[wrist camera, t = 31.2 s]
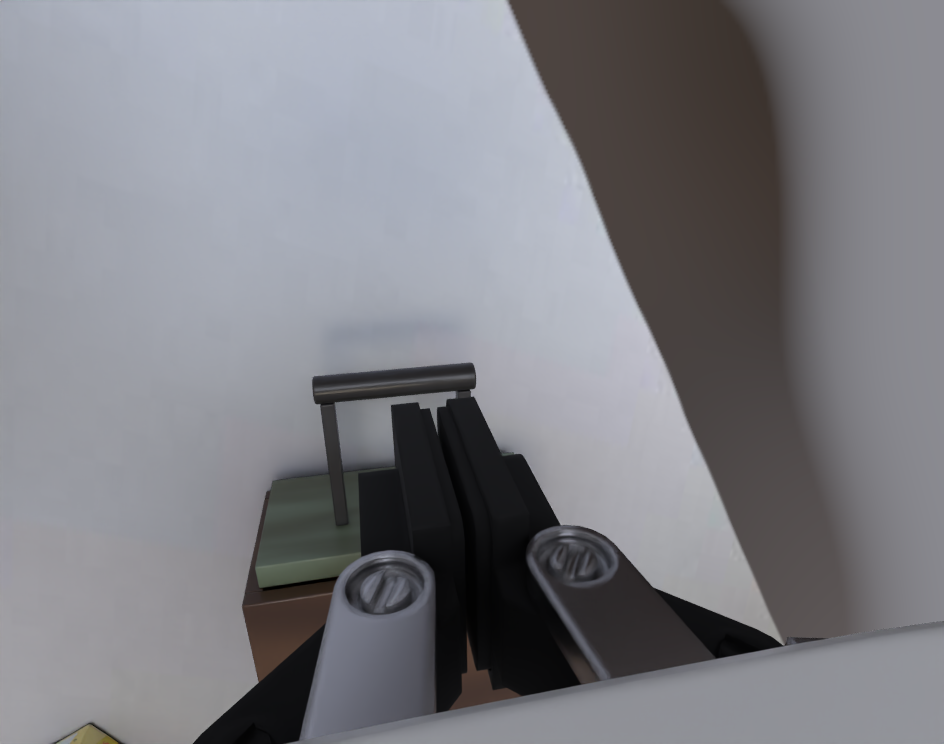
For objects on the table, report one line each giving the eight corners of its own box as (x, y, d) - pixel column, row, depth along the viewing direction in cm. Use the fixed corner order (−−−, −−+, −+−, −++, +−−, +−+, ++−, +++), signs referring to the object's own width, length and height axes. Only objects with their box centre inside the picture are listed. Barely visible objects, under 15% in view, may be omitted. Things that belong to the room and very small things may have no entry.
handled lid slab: (248, 347, 28) (222, 410, 22) (516, 326, 30) (559, 377, 24) (304, 661, 36) (296, 770, 30) (510, 625, 39) (541, 720, 33)
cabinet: (266, 490, 32) (241, 606, 24) (519, 460, 35) (569, 556, 27) (300, 677, 38) (288, 818, 30) (515, 638, 41) (555, 760, 33)
